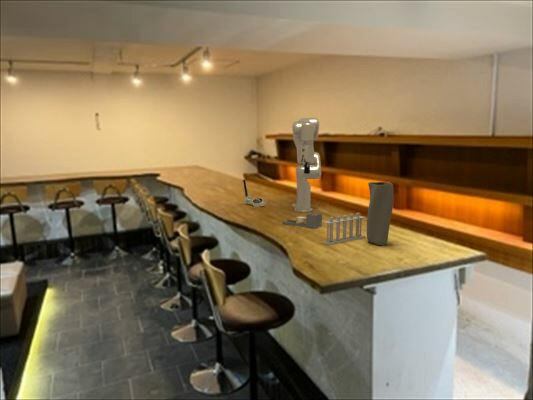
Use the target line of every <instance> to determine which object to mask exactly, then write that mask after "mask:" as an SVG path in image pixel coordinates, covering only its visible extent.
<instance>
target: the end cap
mask: <svg viewBox="0 0 533 400" xmlns="http://www.w3.org/2000/svg"><path fill="white" fill-rule="evenodd" d="M305 217H306V227H305V228H307V229H314V230H317V229H319V228H320V227H322V226H323V225H322V224H323V220H322V219H323V213H320V212H311V213H310V212H309V213H308V214H306V216H305Z"/></svg>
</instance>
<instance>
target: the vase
mask: <svg viewBox="0 0 533 400" xmlns="http://www.w3.org/2000/svg"><path fill="white" fill-rule="evenodd" d="M367 184H368V190H369V204H368V210H367V216H366V239H367V241H368V242H369V243H371V244H374V245H378V246H386V245H387V243H388V241H389V240H388V239H389V232H390V225H391V219H392V213H393V209H394V202H395V201H394V200H395V194H394V191H395V190H394V184H393V183H391V182H387V181H376V182H375V181H371V182H368V183H367ZM385 244H386V245H385Z"/></svg>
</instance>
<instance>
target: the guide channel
mask: <svg viewBox="0 0 533 400" xmlns="http://www.w3.org/2000/svg"><path fill="white" fill-rule="evenodd" d="M281 222H282V225H286V226H287V225H288V226H296V227H302V228H306V224H300V223H296V219H294V220H293V219H287V220H286V221H284V220H282V221H281Z"/></svg>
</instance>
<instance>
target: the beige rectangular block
mask: <svg viewBox="0 0 533 400" xmlns="http://www.w3.org/2000/svg"><path fill="white" fill-rule="evenodd" d="M295 221H296V223H300V224H306V216H300V215H299V216H296V217H295Z"/></svg>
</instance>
